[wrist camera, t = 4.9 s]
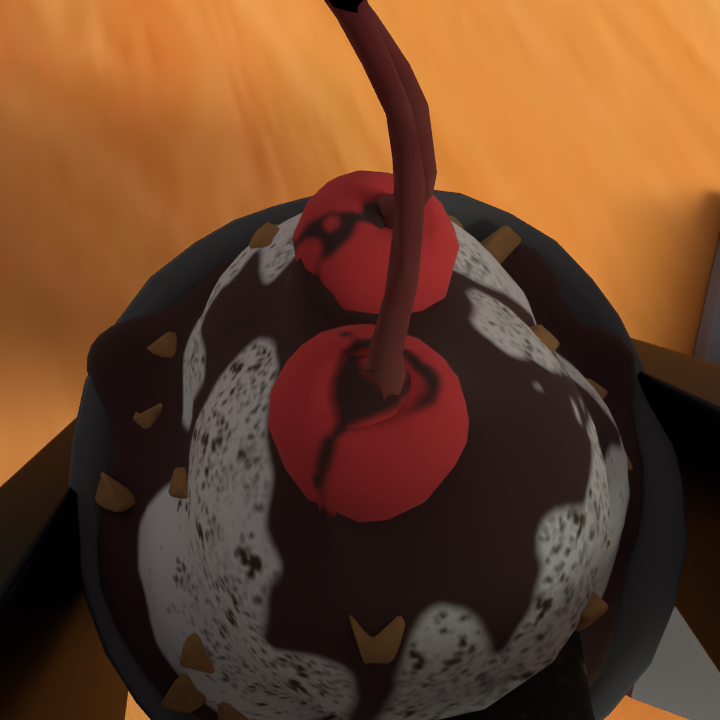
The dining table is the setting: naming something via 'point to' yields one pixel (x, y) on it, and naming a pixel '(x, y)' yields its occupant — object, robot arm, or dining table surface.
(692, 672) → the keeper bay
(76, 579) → the robot arm
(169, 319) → the sundae
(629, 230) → the dining table surface
